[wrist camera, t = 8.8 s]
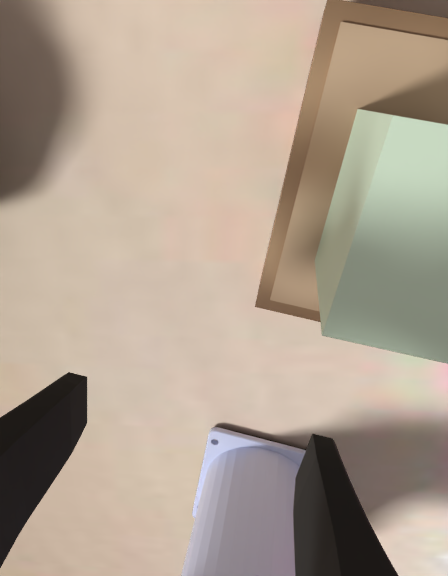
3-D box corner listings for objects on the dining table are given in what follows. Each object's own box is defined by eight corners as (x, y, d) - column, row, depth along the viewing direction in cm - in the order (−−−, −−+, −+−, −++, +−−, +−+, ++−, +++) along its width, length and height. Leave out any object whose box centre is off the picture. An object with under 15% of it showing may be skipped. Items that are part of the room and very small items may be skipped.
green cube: (457, 290, 16) (534, 383, 11) (314, 260, 17) (321, 335, 12) (530, 139, 14) (678, 165, 8) (357, 108, 14) (392, 115, 9)
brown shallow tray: (449, 323, 20) (473, 359, 18) (260, 280, 21) (254, 308, 18) (583, 59, 15) (649, 51, 12) (323, 14, 16) (328, -4, 13)
